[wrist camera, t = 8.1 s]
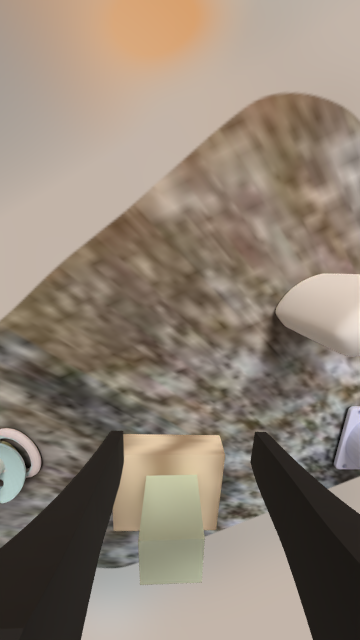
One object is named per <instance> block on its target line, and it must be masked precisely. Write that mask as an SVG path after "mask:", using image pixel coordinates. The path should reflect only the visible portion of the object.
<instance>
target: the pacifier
mask: <svg viewBox="0 0 360 640" xmlns="http://www.w3.org/2000/svg"><path fill="white" fill-rule="evenodd" d="M2 438H8V439H12V440H14V441H16V442H17V443H19V444H20V445H21V446H22V447H24V449H25V450H26V451H27V453H28V455H29V456H30V459H31V467H30V468H26V466H25V463H24V460H23V458H22V457H21V455H20V454H19V453H18V451H17V450H16V449H15V448H14V447H13V446H12V445H11V444H9V443H7V442H5V441H1V439H2ZM40 467H41V456H40V453H39V451H38V449H37V447H36V446H35V444H34V443H33V442H32V440H30V439H29V438H28V437H27V436H26V435H25V434H23V433H21V432H20V431H17V430H15V429H10V428H4V429H0V479H1V480H3V482H4V485H3V486H0V503H6V502H9V501H10V500H12V499H13V498H14V497H15V496H16V495H17V494H18V493H19V491H20V490H21V488H22V487H23V485H24V482H25V478H27V477H32V476H34V475H36V474H37V473H38V472H39V470H40Z"/></svg>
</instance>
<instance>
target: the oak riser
mask: <svg viewBox="0 0 360 640" xmlns="http://www.w3.org/2000/svg"><path fill="white" fill-rule="evenodd" d="M123 440H124V465H123V470H122V475H121V480H120V485H119V489H118V492H117V495H116V499H115V502H114V506H113V526H114V531H140V523H141V515H142V507H143V499H144V491H145V483H146V476H157V475H197V480H198V488H199V496H200V505H201V513H202V521H203V530H216V525H217V517H218V509H219V501H220V492H221V484H222V476H223V468H224V460H225V453H224V450H223V446H222V443H221V439H220V436H219V435H145V434H123Z"/></svg>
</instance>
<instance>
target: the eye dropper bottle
mask: <svg viewBox="0 0 360 640" xmlns="http://www.w3.org/2000/svg"><path fill="white" fill-rule="evenodd" d="M275 312H276V315H277V317H278V318H279V319H280V321H281V322H282V323H283V325H284V326H286V327H287V328H289V329H291V330H293V331H295V332H297V333H299V334H301V335H303V336H305V337H307V338H309V339H311V340H313V341H315V342H317V343H319V344H321V345H323V346H325V347H327V348H329V349H332V350H334V351H336V352H338V353H340V354H343V355H346V356H360V274H319V275H315V276H313V277H310V278H308V279H306V280H304V281H302V282H300V283H299V284H297V285H296V286H294V287H293V288H292V289H291V290H290V291H289V292H288V293H287V294H286V295H285V296H284V297H283V298H282V300H281V301H280V302H279V304H278V306H277V307H276V311H275Z"/></svg>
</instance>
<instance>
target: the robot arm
mask: <svg viewBox="0 0 360 640" xmlns="http://www.w3.org/2000/svg"><path fill="white" fill-rule="evenodd" d="M123 465H124V440H123V431H111V432H110V433H109V434H108V436H107V437H106V439H105V440H104V441H103V443H102V444H101V445H100V447H99V448H98V449H97V451H96V452H95V453H94V455H93V456H92V457H91V458H90V460H89V461H88V462H87V463H86V465H85V466H84V467H83V468H82V469H81V471H80V472H79V473H78V474H77V475H76V476H75V477H74V479H73V480H72V481H71V482H70V483H69V484H68V485H67V486H66V488H65V489H64V490H63V491H62V492H61V493H60V494H59V495H58V496H57V497H56V498H55V499H54V500H53V501H52V502H51V503H50V504H49V505H48V506H47V507H46V508H45V509H44V510H43V511H42V512H41V513H40V514H39V515H38V516H37V517H36V518H34V519H33V520H32V521H31V522H30V523H29V524H28V525H27V526H26V527H25V528H24V529H22V530H21V531H20V532H19V533H18V534H17V535H16V536H14V537H13V538H12V539H11V540H10V541H9V542H7V543H6V544H5V545H4V546H3V547H1V548H0V640H81V636H82V631H83V626H84V622H85V617H86V613H87V608H88V602H89V599H90V594H91V589H92V584H93V580H94V576H95V571H96V567H97V563H98V558H99V554H100V550H101V546H102V543H103V539H104V536H105V532H106V529H107V526H108V522H109V519H110V516H111V512H112V509H113V506H114V502H115V499H116V495H117V492H118V489H119V485H120V480H121V475H122V470H123ZM251 465H252V469H253V472H254V476H255V479H256V482H257V485H258V488H259V490H260V492H261V495H262V497H263V500H264V502H265V505H266V507H267V509H268V512H269V514H270V517H271V519H272V521H273V524H274V526H275V529H276V531H277V533H278V536H279V538H280V541H281V543H282V546H283V548H284V551H285V554H286V557H287V560H288V563H289V566H290V569H291V572H292V575H293V578H294V581H295V583H296V587H297V590H298V593H299V596H300V599H301V603H302V606H303V609H304V612H305V615H306V618H307V622H308V625H309V628H310V632H311V635H312V638H313V640H360V514H359V513H357V512H356V511H355V510H353V509H352V508H351V507H349V506H348V505H347V504H345V503H344V502H343V501H341V500H340V499H339V498H338V497H336V496H335V495H334V494H333V493H331V492H330V491H329V490H328V489H327V488H325V487H324V486H323V485H322V484H321V483H320V482H318V481H317V480H316V479H315V478H314V477H313V476H312V475H310V474H309V473H308V472H307V471H306V470H305V469H304V468H303V467H302V466H301V465H299V464H298V463H297V462H296V461H295V460H294V459H293V458H292V457H291V456H290V455H289V454H288V453H287V452H286V451H285V450H284V449H283V448H282V447H281V446H280V445H279V444H278V443H277V442H276V441H275V440H274V439H273V438H272V437H271V436H270V435H269V434H268V433H266V432H255V436H254V442H253V449H252V455H251ZM334 466H335V467H336V468H337V469H360V406H353V407H350V408H349V409H348V413H347V416H346V420H345V424H344V427H343V431H342V435H341V438H340V442H339V446H338V450H337V453H336V457H335V461H334Z"/></svg>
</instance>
